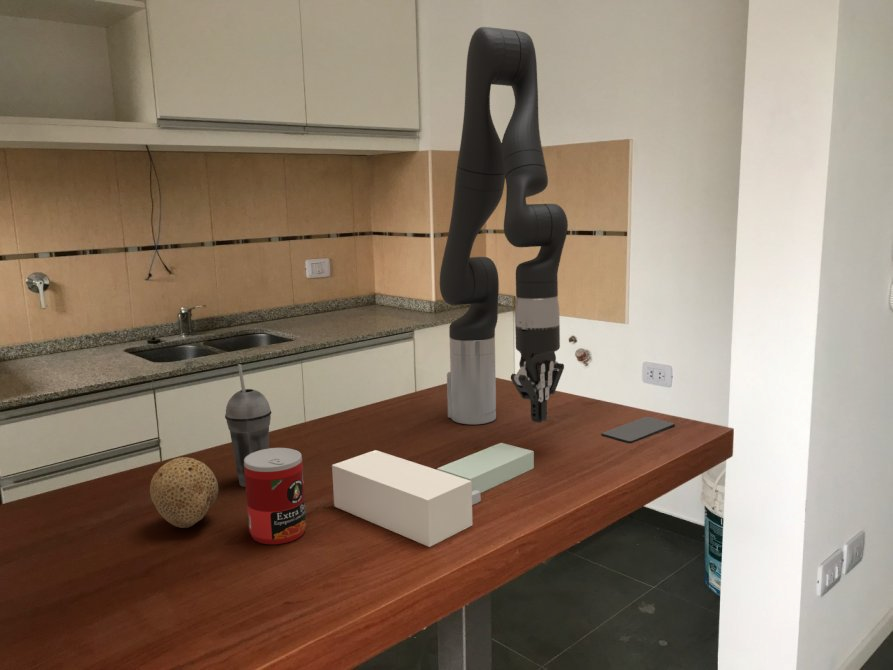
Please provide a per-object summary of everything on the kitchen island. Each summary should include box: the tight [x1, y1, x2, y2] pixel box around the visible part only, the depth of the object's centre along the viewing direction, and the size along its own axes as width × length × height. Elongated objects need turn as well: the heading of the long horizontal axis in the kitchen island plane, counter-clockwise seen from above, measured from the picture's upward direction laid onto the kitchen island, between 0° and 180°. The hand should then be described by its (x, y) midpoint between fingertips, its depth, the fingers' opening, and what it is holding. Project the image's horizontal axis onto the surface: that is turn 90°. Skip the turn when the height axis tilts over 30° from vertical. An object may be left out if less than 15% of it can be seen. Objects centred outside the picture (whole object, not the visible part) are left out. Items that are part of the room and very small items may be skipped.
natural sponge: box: [149, 456, 219, 529], centre depth 103 cm, size 9×9×10 cm
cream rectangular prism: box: [331, 449, 482, 548], centre depth 107 cm, size 20×16×6 cm
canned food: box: [244, 447, 307, 545], centre depth 100 cm, size 8×8×11 cm
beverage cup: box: [224, 363, 272, 488], centre depth 117 cm, size 7×7×20 cm
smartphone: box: [600, 416, 676, 444], centre depth 140 cm, size 7×1×15 cm
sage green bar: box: [436, 442, 535, 493], centre depth 118 cm, size 7×16×3 cm, turn 137°
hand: (539, 421), depth 127 cm, fingers closed
